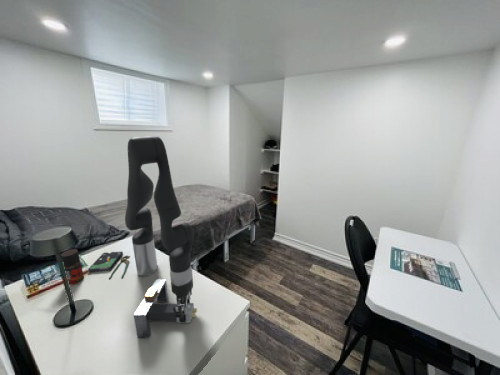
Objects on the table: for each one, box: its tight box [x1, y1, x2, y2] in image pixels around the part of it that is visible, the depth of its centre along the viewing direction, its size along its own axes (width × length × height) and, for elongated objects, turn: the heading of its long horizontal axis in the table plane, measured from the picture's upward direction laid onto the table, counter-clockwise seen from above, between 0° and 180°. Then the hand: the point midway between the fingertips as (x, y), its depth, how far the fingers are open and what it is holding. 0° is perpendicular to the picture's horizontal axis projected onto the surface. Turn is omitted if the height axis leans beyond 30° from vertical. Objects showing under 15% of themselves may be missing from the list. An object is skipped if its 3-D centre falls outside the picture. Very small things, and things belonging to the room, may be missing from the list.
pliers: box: [108, 255, 131, 280], centre depth 107 cm, size 20×7×1 cm, turn 15°
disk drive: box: [87, 251, 124, 274], centre depth 110 cm, size 10×3×15 cm
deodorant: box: [60, 248, 85, 286], centre depth 95 cm, size 6×6×15 cm
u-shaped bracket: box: [133, 278, 169, 339], centre depth 77 cm, size 17×4×12 cm, turn 0°
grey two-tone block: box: [148, 302, 198, 324], centre depth 78 cm, size 5×22×4 cm, turn 89°
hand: (185, 314), depth 78 cm, fingers closed on grey two-tone block, 5 cm apart
